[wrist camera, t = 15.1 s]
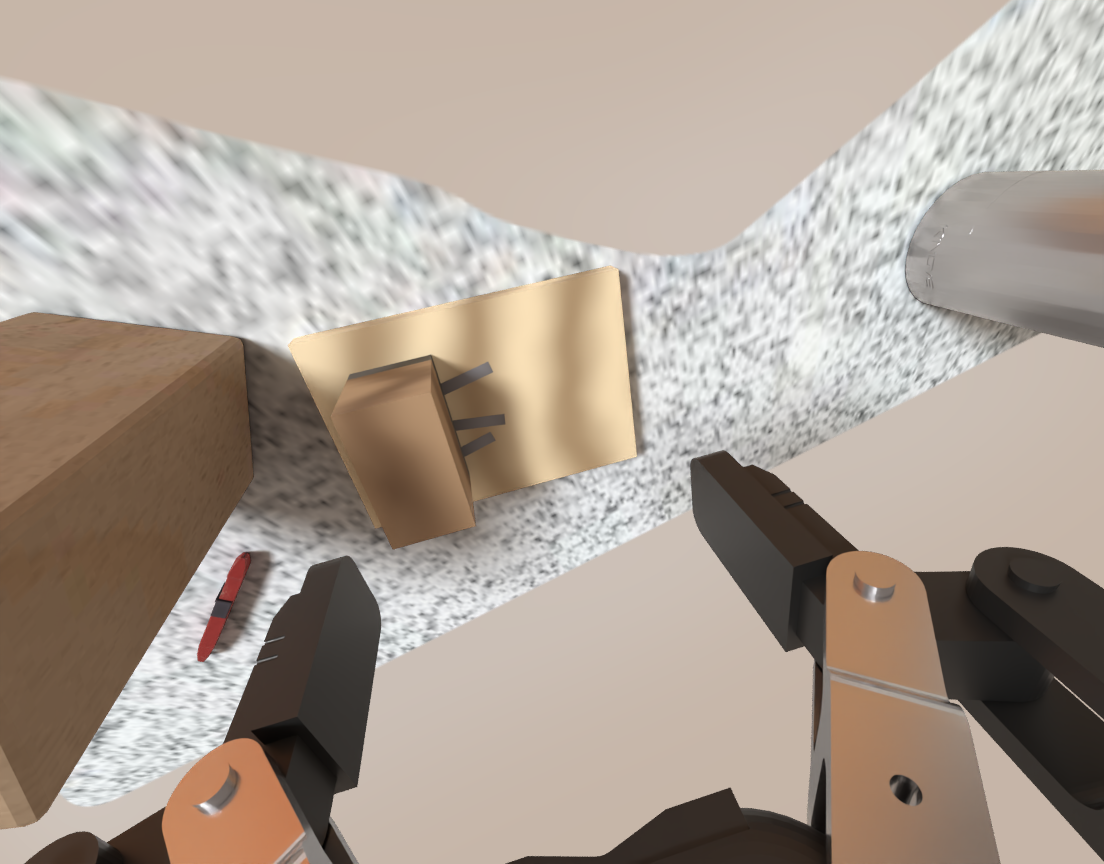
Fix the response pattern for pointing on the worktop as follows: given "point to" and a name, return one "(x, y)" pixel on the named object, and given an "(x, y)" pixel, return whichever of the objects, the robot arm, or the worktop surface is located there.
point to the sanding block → (406, 450)
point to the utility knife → (223, 606)
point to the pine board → (503, 377)
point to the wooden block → (100, 520)
